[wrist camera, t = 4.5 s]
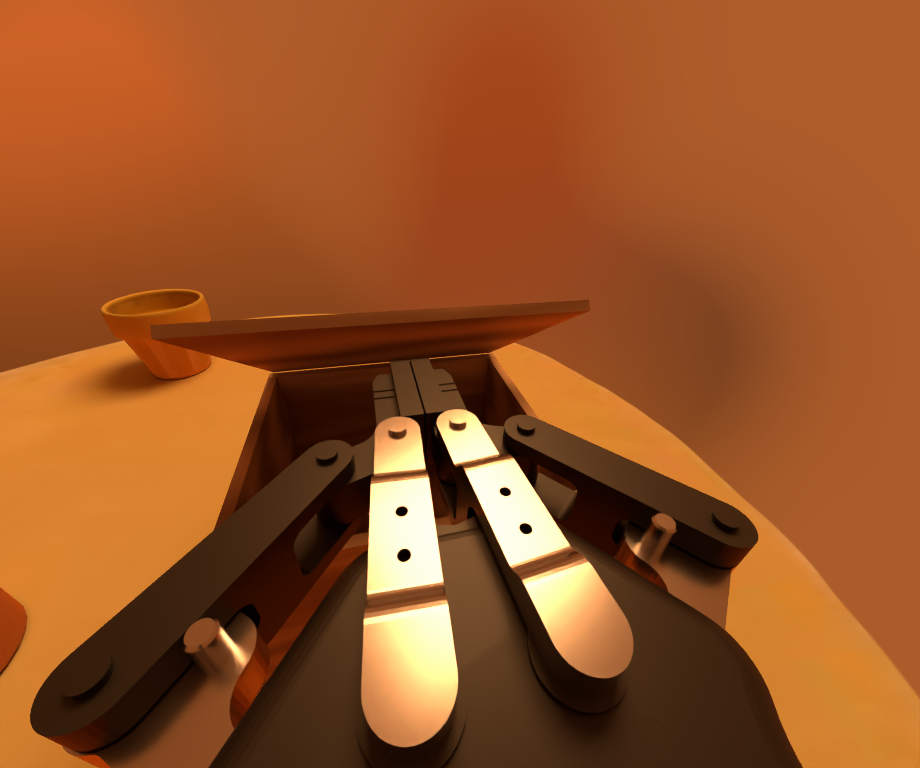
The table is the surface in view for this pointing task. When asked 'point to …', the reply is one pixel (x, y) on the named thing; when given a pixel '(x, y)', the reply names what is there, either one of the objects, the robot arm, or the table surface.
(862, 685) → the table surface
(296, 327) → the box flap
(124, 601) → the table surface
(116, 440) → the table surface
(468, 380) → the open wooden box
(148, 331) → the plant pot
